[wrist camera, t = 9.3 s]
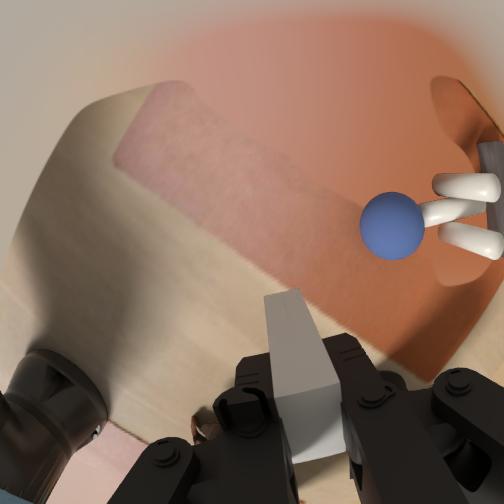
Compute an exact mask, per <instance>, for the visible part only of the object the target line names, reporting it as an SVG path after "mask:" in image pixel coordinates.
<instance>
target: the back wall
mask: <svg viewBox="0 0 504 504" xmlns="http://www.w3.org/2000/svg"><path fill="white" fill-rule="evenodd" d="M477 148H478V153H479V158H480V164H481V170H482V173H492V174H495V175H496V176H497V177H498V179H499V181H500V184H501V194H500V197H499V199H498V200H497V201H496V202H486V212H487V227H488V230H491V231H495V232H499V233H501V234H502V235H503V237H504V145H503V141H493V142H484V143H477ZM501 257H504V251H503V253H502V255H501Z"/></svg>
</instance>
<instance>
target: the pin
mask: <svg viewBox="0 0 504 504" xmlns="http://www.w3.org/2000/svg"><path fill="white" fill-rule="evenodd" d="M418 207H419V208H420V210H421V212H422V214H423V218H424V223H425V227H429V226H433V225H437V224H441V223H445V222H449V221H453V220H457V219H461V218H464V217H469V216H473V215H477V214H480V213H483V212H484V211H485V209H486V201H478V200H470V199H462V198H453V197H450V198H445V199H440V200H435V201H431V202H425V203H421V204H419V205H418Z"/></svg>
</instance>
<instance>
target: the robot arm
mask: <svg viewBox="0 0 504 504" xmlns="http://www.w3.org/2000/svg"><path fill="white" fill-rule="evenodd" d="M264 304H265V313H266V322H267V332H268V342H269V351H270V352H269V353H264V354H259V355H254V356H249V357H244V358H242V360H241V361H240V362H239V364H238V365H237V367H236V375H235V378H236V379H235V387H233V388H230V389H229V390H227V391H225V392H223V393H222V394H221V395H220V396H219V397H218V398H217V399H216V400H215V402H214V404H213V406H212V407H213V410H214V412H215V414H216V416H217V419H218V421H219V423H220V425H221V428H222V430H223V433H222V434H220V435H219V436H217V437H216V438H213V439H211V440H209V441H206V442H202V443H199V444H196V445H193V446H191V445H190V444H189V443H188V442H187V441H186V440H184V439H181V438H178V437H166V438H163V439H159V440H157V441H155V442H153V443H151V444H150V445H149V446H148V447H147V448H146V449H145V450H144V451H143V452H142V454H141V455H140V457H139V458H138V459H137V461H136V462H135V464H134V465H133V467H132V468H131V470H130V471H129V473H128V474H127V475H126V477H125V478H124V480H123V481H122V483H121V484H120V485H119V487H118V488H117V490H116V491H115V493H114V494H113V495H112V497H111V498H110V500H109V501H108V503H107V504H300V503H299V496H298V489H297V482H296V477H295V474H294V470H293V464H295V463H300V462H305V461H310V460H314V459H319V458H323V457H327V456H331V455H335V454H339V453H342V452H346V447H347V450H348V454H349V461H350V479H354V482H355V485H356V488H357V492H358V495H359V498H360V501H361V504H504V387H502V386H500V385H498V384H497V383H495V382H493V381H492V380H490V379H488V378H486V377H485V376H483V375H481V374H479V373H478V372H476V371H474V370H471V369H468V368H454V369H449V370H447V371H445V372H443V373H441V374H440V375H439V376H438V377H437V378H436V379H435V381H434V384H433V388H429V389H422V390H416V391H402V390H400V389H399V388H398V387H397V386H395V385H394V384H393V383H390V382H387V381H383V379H382V377H381V376H380V374H379V373H378V371H377V370H376V368H375V366H374V365H373V363H372V362H371V360H370V359H369V357H368V355H366V352H365V351H364V349H363V348H362V346H361V345H360V343H359V342H358V340H357V339H356V338H355V337H353V336H351V335H349V334H347V333H343V334H339V335H335V336H332V337H328V338H324V339H321V337H320V335H319V332H318V330H317V328H316V326H315V323H314V321H313V319H312V317H311V314H310V312H309V310H308V308H307V305H306V303H305V301H304V299H303V296H302V294H301V292H300V290H299V288H297V289H293V290H289V291H285V292H280V293H276V294H272V295H267V296H264ZM106 422H107V409H106V406H105V403H104V401H103V398H102V397H101V395H100V393H99V391H98V390H97V388H96V387H95V386H94V384H93V383H92V382H91V381H90V379H89V378H88V377H87V376H86V375H85V374H84V373H83V372H82V371H81V370H80V369H79V368H77V367H76V366H75V365H74V364H73V363H71V362H70V361H68V360H67V359H65V358H64V357H62V356H60V355H58V354H56V353H54V352H51V351H48V350H42V349H38V350H33V351H31V352H30V353H29V354H27V355H26V356H25V357H24V358H23V359H22V360H21V361H20V362H19V364H18V366H17V368H16V370H15V372H14V375H13V377H12V379H11V381H10V384H9V386H8V389H7V391H6V392H5V394H4V395H3V394H2V393H1V391H0V504H46V502H47V500H48V498H49V496H50V494H51V492H52V490H53V489H54V487H55V485H56V483H57V481H58V479H59V477H60V476H61V474H62V472H63V470H64V468H65V467H66V465H67V463H68V461H69V460H70V458H71V456H72V455H73V454H74V453H75V452H77V451H78V450H80V449H81V448H82V447H84V446H85V445H87V444H88V443H90V442H91V441H92V440H94V439H95V438H96V437H98V435H99V434H100V433H101V431H102V430H103V428H104V426H105V424H106ZM345 444H346V446H345Z"/></svg>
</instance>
